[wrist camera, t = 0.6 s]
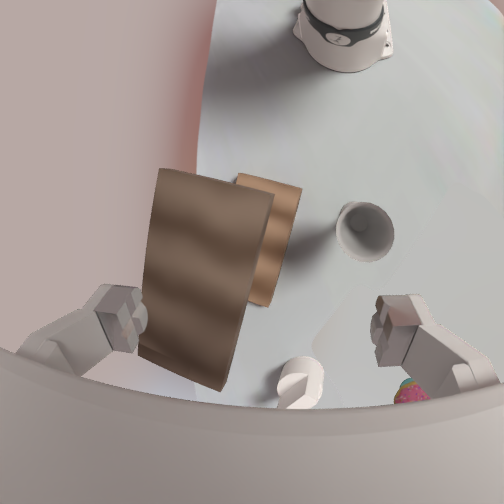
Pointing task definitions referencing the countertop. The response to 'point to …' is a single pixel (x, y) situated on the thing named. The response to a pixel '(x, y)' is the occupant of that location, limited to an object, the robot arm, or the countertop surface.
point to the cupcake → (410, 392)
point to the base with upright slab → (300, 383)
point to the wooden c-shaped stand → (210, 267)
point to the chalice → (364, 231)
